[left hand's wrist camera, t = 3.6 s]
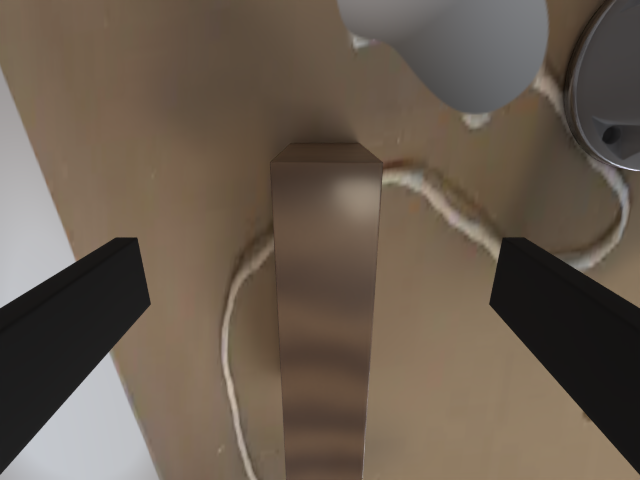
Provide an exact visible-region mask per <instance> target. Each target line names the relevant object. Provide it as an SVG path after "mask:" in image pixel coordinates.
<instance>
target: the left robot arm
mask: <svg viewBox="0 0 640 480" xmlns="http://www.w3.org/2000/svg"><path fill="white" fill-rule="evenodd" d="M564 104H565V112H566V117H567V121H568V124H569V127H570V130H571V132H572V134H573V136H574V137H575V139H576V141H577V142H578V144H579V145H580V146H581V147H582V148H583V149H584V150H585V151H586V152H587V153H588V154H589V155H591V156H592V157H593V158H595V159H597V160H598V161H600V162H602V163H605V164H607V165H610V166H614V167H618V168H624V169H629V170H635V171H640V0H606V1H605V2H604V3H603V4H602V5H601V7H600V8H599V9H598V10H597V12H596V13H595V14H594V16H593V17H592V18H591V20H590V21H589V23H588V24H587V26H586V27H585V29H584V31H583V33H582V35H581V36H580V38H579V40H578V42H577V45H576V47H575V49H574V51H573V54H572V57H571V60H570V63H569V67H568V70H567V75H566V80H565V90H564ZM150 305H151V303H150V298H149V293H148V288H147V283H146V278H145V273H144V268H143V263H142V258H141V254H140V249H139V244H138V239H137V238H114V239H113V240H111V241H109V242H108V243H106V244H105V245H103V246H101V247H100V248H98V249H96V250H95V251H93V252H91V253H90V254H88V255H87V256H85V257H83V258H82V259H80V260H78V261H77V262H75V263H74V264H72V265H70V266H69V267H67V268H65V269H64V270H62V271H60V272H59V273H57V274H56V275H54V276H52V277H51V278H49V279H47V280H46V281H44V282H43V283H41V284H39V285H38V286H36V287H34V288H33V289H31V290H29V291H28V292H26V293H25V294H23V295H21V296H20V297H18V298H16V299H15V300H13V301H11V302H10V303H8V304H7V305H5V306H3V307H2V308H0V474H1V473H2V472H3V471H4V470H5V469H6V468H7V467H8V465H9V464H10V463H11V462H12V461H13V460H14V459H15V457H16V456H17V455H18V454H19V453H20V452H21V451H22V450H23V448H24V447H25V446H26V445H27V444H28V443H29V442H30V441H31V439H32V438H33V437H34V436H35V435H36V434H37V432H38V431H39V430H40V429H41V428H42V427H43V426H44V425H45V423H46V422H47V421H48V420H49V419H50V418H51V417H52V416H53V414H54V413H55V412H56V411H57V410H58V409H59V408H60V407H61V405H62V404H63V403H64V402H65V401H66V400H67V399H68V397H69V396H70V395H71V394H72V393H73V392H74V391H75V390H76V388H77V387H78V386H79V385H80V384H81V383H82V382H83V380H84V379H85V378H86V377H87V376H88V375H89V374H90V373H91V371H92V370H93V369H94V368H95V367H96V366H97V365H98V363H99V362H100V361H101V360H102V359H103V358H104V357H105V356H106V354H107V353H108V352H109V351H110V350H111V349H112V348H113V347H114V345H115V344H116V343H117V342H118V341H119V340H120V339H121V337H122V336H123V335H124V334H125V333H126V332H127V331H128V330H129V328H130V327H131V326H132V325H133V324H134V323H135V322H136V320H137V319H138V318H139V317H140V316H141V315H142V314H143V313H144V311H145V310H146V309H147V308H148V307H149V306H150ZM489 305H490V306H491V307H492V308H493V309H494V310H495V311H496V313H497V314H498V315H499V316H500V317H501V318H502V319H503V320H504V322H505V323H506V324H507V325H508V326H509V327H510V328H511V330H512V331H513V332H514V333H515V334H516V335H517V336H518V337H519V339H520V340H521V341H522V342H523V343H524V344H525V345H526V347H527V348H528V349H529V350H530V351H531V352H532V353H533V354H534V356H535V357H536V358H537V359H538V360H539V361H540V362H541V363H542V365H543V366H544V367H545V368H546V369H547V370H548V371H549V373H550V374H551V375H552V376H553V377H554V378H555V379H556V380H557V382H558V383H559V384H560V385H561V386H562V387H563V388H564V390H565V391H566V392H567V393H568V394H569V395H570V396H571V397H572V399H573V400H574V401H575V402H576V403H577V404H578V405H579V407H580V408H581V409H582V410H583V411H584V412H585V413H586V414H587V416H588V417H589V418H590V419H591V420H592V421H593V422H594V424H595V425H596V426H597V427H598V428H599V429H600V430H601V431H602V433H603V434H604V435H605V436H606V437H607V438H608V439H609V441H610V442H611V443H612V444H613V445H614V446H615V447H616V448H617V450H618V451H619V452H620V453H621V454H622V455H623V456H624V457H625V459H626V460H627V461H628V462H629V463H630V464H631V465H632V467H633V468H634V469H635V470H636V471H637V472H638V473H639V474H640V308H638V307H637V306H635V305H633V304H632V303H630V302H629V301H627V300H625V299H624V298H622V297H620V296H619V295H617V294H615V293H614V292H612V291H611V290H609V289H607V288H606V287H604V286H602V285H601V284H599V283H598V282H596V281H594V280H593V279H591V278H589V277H588V276H586V275H584V274H583V273H581V272H580V271H578V270H576V269H575V268H573V267H571V266H570V265H568V264H566V263H565V262H563V261H562V260H560V259H558V258H557V257H555V256H553V255H552V254H550V253H549V252H547V251H545V250H544V249H542V248H540V247H539V246H537V245H535V244H534V243H532V242H531V241H529V240H527V239H526V238H503V239H502V244H501V249H500V254H499V258H498V263H497V268H496V273H495V278H494V283H493V288H492V293H491V298H490V303H489Z"/></svg>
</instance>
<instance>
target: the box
mask: <svg viewBox="0 0 640 480" xmlns="http://www.w3.org/2000/svg"><path fill="white" fill-rule="evenodd" d="M270 169H271V189H272V208H273V228H274V248H275V267H276V287H277V306H278V326H279V346H280V365H281V385H282V404H283V424H284V444H285V463H286V480H363V466H364V450H365V435H366V419H367V404H368V388H369V373H370V358H371V342H372V327H373V311H374V296H375V280H376V265H377V249H378V234H379V218H380V203H381V187H382V172H383V162H382V161H381V160H379V159H378V158H377V157H376V156H375V155H373V154H372V153H371V152H370V151H368V150H367V149H366V148H365V147H364V146H362V145H361V144H360V143H291V144H290V145H288V146H287V147H286V148H285V149H284V150H283V151H282V152H281V153H280V154H279V155H278V156H277V157H275V158H274V159H273V160H272V161H271V162H270Z"/></svg>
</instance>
